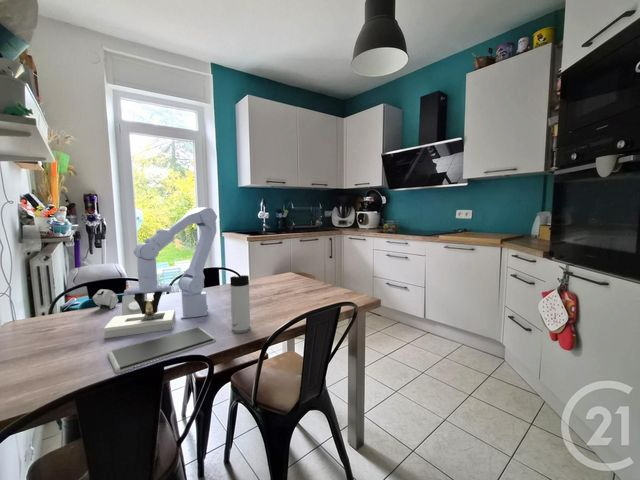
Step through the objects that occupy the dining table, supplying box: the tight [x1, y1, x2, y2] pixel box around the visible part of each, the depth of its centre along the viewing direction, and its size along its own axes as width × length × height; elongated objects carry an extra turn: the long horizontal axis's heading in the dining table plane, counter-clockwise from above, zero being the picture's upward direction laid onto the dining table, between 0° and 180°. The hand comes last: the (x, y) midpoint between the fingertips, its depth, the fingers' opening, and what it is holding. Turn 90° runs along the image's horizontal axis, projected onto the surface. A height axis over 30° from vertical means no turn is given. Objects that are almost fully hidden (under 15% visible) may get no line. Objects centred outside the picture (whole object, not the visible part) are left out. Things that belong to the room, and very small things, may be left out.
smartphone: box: [107, 326, 216, 374], centre depth 88 cm, size 13×27×2 cm, turn 134°
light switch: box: [121, 294, 148, 316], centre depth 114 cm, size 8×6×14 cm
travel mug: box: [229, 275, 251, 334], centre depth 101 cm, size 6×7×20 cm
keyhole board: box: [103, 309, 176, 339], centre depth 103 cm, size 20×11×4 cm, turn 111°
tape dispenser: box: [92, 288, 119, 310], centre depth 124 cm, size 6×7×10 cm
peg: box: [144, 298, 155, 321], centre depth 104 cm, size 5×5×10 cm
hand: (150, 312), depth 104 cm, fingers closed on peg, 3 cm apart
